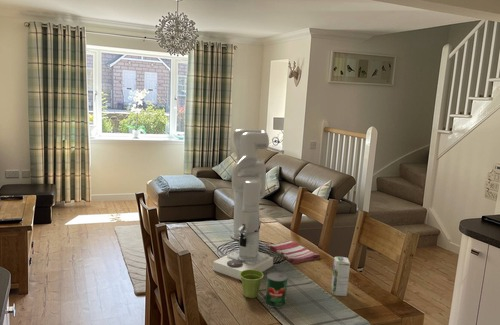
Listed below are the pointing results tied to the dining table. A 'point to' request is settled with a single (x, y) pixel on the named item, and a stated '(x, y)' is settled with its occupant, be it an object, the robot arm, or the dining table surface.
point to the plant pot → (251, 282)
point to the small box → (250, 245)
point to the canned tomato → (276, 289)
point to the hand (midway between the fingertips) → (249, 243)
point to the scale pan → (248, 260)
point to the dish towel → (293, 252)
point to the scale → (239, 266)
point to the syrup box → (340, 276)
